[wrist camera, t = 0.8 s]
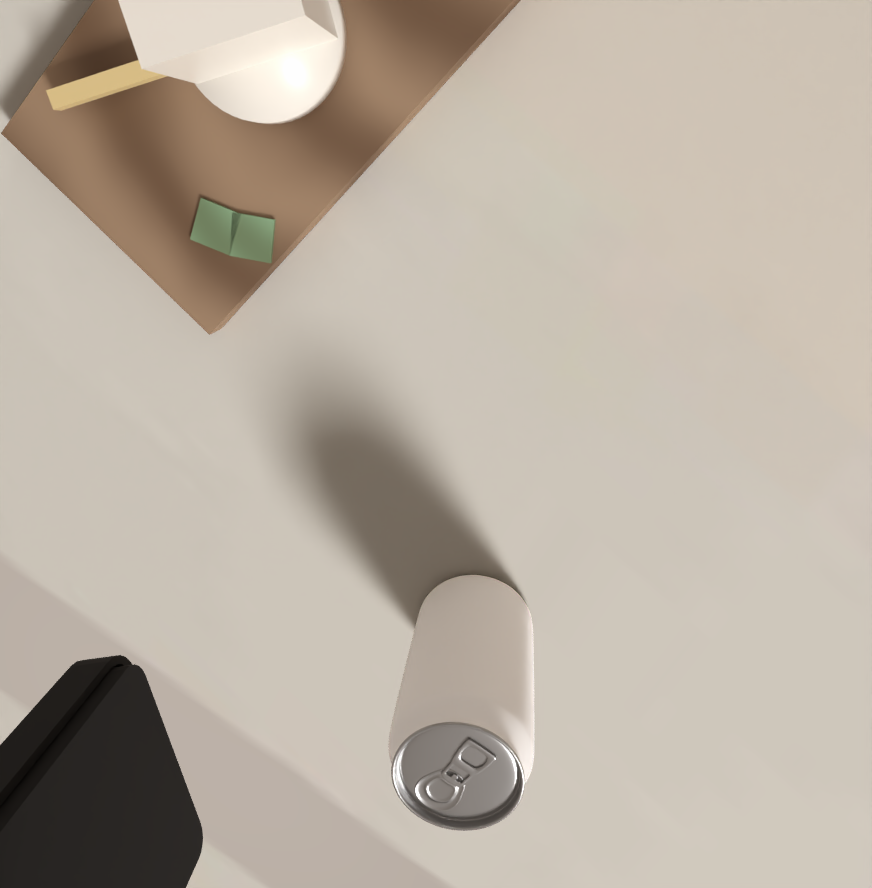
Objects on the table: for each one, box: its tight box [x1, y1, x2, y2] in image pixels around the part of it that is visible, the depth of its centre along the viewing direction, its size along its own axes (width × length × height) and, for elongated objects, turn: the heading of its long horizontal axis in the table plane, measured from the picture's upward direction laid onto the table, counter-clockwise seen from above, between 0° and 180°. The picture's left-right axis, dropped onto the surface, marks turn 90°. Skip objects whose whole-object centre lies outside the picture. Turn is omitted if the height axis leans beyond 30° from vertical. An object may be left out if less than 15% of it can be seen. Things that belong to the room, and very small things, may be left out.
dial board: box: [1, 0, 520, 335], centre depth 34 cm, size 24×13×2 cm, turn 135°
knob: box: [46, 0, 347, 124], centre depth 30 cm, size 14×7×6 cm, turn 105°
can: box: [389, 575, 534, 831], centre depth 38 cm, size 6×6×12 cm
